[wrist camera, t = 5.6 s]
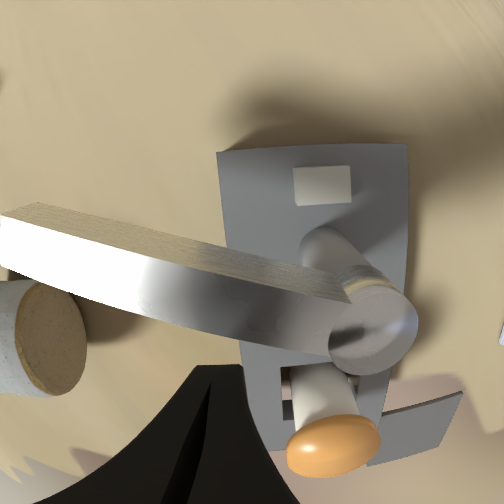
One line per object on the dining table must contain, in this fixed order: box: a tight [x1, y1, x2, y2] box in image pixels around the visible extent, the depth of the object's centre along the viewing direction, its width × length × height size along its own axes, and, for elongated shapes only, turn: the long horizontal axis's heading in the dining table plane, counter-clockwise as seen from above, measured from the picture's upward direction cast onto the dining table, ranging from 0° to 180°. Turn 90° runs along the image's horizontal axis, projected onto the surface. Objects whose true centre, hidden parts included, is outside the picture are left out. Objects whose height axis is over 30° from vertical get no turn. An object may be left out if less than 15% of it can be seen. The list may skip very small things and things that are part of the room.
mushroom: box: [286, 361, 381, 478], centre depth 16 cm, size 5×5×7 cm
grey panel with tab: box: [216, 143, 409, 451], centre depth 14 cm, size 9×20×7 cm, turn 5°
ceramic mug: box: [0, 278, 87, 397], centre depth 14 cm, size 11×8×8 cm
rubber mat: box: [366, 391, 463, 466], centre depth 21 cm, size 8×8×1 cm
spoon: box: [0, 202, 419, 375], centre depth 8 cm, size 3×12×2 cm, turn 76°
